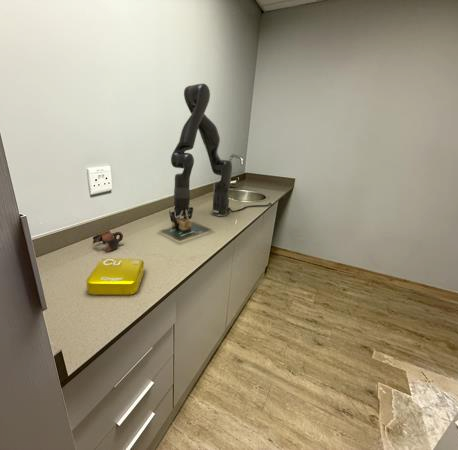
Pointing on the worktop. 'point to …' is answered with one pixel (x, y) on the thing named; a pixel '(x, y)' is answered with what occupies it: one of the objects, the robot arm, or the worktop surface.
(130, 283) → the element tile
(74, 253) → the worktop surface
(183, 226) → the eraser
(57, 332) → the worktop surface
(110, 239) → the brown teapot
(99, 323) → the worktop surface
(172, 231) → the chalkboard
